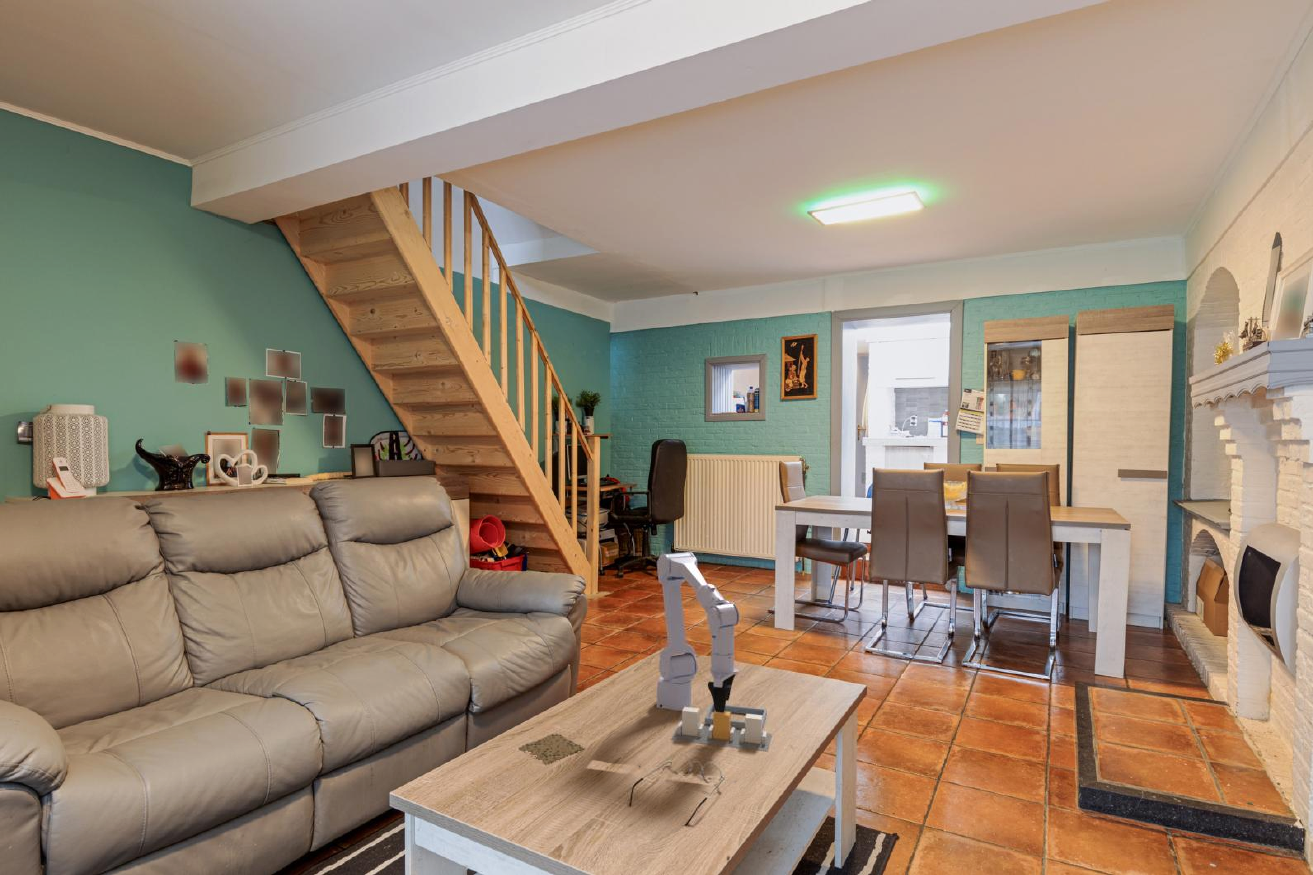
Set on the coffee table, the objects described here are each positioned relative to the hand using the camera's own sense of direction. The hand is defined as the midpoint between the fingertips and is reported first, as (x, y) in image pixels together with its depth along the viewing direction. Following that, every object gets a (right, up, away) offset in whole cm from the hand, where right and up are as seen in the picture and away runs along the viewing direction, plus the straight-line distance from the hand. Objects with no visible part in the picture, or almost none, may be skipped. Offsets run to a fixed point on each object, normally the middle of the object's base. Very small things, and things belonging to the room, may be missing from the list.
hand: (722, 705), depth 174 cm
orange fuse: (0, -8, 0) cm, 8 cm away
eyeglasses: (-12, -10, -25) cm, 30 cm away
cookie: (-42, -10, -4) cm, 44 cm away
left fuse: (-8, -8, +2) cm, 11 cm away
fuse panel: (0, -9, 0) cm, 9 cm away
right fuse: (+8, -8, -2) cm, 11 cm away
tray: (+5, -9, +11) cm, 15 cm away
